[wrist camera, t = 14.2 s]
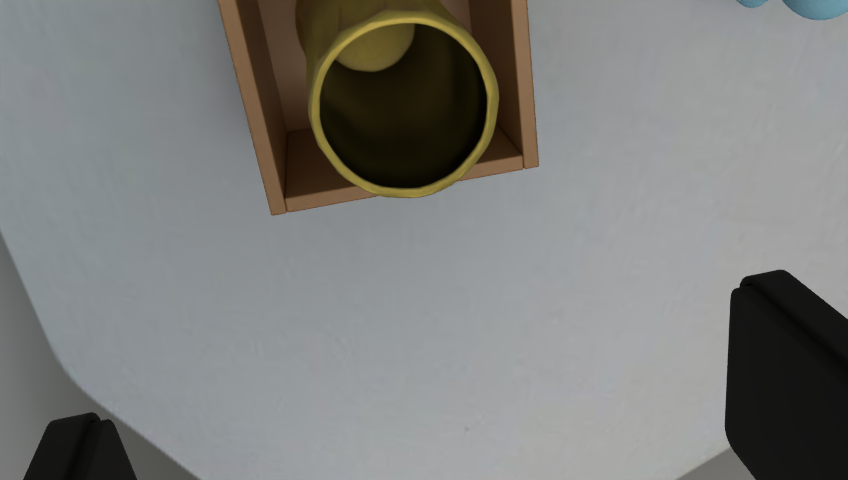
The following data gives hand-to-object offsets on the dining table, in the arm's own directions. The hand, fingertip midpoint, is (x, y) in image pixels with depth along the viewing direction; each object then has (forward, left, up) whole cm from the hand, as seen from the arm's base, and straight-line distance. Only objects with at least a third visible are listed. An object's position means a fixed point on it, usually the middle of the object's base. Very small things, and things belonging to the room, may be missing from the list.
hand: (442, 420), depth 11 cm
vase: (+1, +1, -25) cm, 25 cm away
